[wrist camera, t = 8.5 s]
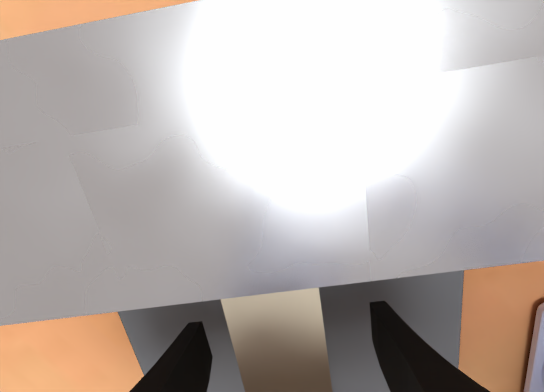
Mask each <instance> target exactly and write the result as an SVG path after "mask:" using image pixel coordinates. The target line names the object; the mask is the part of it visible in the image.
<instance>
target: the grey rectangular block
mask: <svg viewBox="0 0 544 392" xmlns="http://www.w3.org/2000/svg"><path fill="white" fill-rule="evenodd" d="M535 261H544V0H199V1H194V2H189V3H184V4H179V5H174V6H169V7H164V8H159V9H154V10H149V11H144V12H139V13H134V14H129V15H124V16H119V17H114V18H109V19H104V20H99V21H94V22H89V23H84V24H79V25H74V26H69V27H64V28H59V29H54V30H49V31H44V32H39V33H34V34H29V35H24V36H19V37H14V38H9V39H4V40H0V326H2V325H10V324H19V323H27V322H35V321H44V320H52V319H60V318H69V317H77V316H85V315H94V314H102V313H110V312H119V311H127V310H135V309H144V308H152V307H160V306H169V305H177V304H185V303H194V302H202V301H210V300H219V299H227V298H235V297H244V296H252V295H260V294H269V293H277V292H285V291H294V290H302V289H310V288H319V287H327V286H335V285H344V284H352V283H360V282H369V281H377V280H385V279H394V278H402V277H410V276H419V275H427V274H435V273H444V272H452V271H460V270H469V269H477V268H485V267H494V266H502V265H510V264H519V263H527V262H535Z"/></svg>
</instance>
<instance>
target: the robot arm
mask: <svg viewBox="0 0 544 392" xmlns="http://www.w3.org/2000/svg"><path fill="white" fill-rule="evenodd" d="M370 316H371V331H372V342H373V345H374V349H375V352H376V355H377V359H378V362H379V365H380V368H381V370H382V373H383V375H384V378H385V380H386V382H387V385H388V387H389V390H390V392H490V391H488V390H487V389H485V388H484V387H482V386H481V385H479V384H478V383H476V382H475V381H474V380H472V379H471V378H469V377H468V376H467V375H465V374H464V373H463V372H461V371H460V370H459V369H457V368H456V367H455V366H453V365H452V364H451V363H450V362H448V361H447V360H446V359H445V358H444V357H442V356H441V355H440V354H439V353H438V352H437V351H435V350H434V349H433V348H432V347H431V346H430V345H429V344H427V343H426V342H425V341H424V340H423V339H422V338H421V337H420V336H419V335H418V334H417V333H416V332H415V331H414V330H413V329H412V328H411V327H410V326H409V325H408V324H407V323H406V322H405V321H404V320H403V319H402V318H401V317H400V316H399V315H398V314H397V313H396V312H395V311H394V310H393V309H392V307H391V306H390V305H389V304H388V303H387V302H386V301H376V302H370ZM212 359H213V356H212V353H211V349H210V346H209V343H208V339H207V336H206V333H205V329H204V326H203V323H202V321H199V322H190V323H188V324H187V325H186V326H185V328H184V329H183V330H182V331H181V333H180V334H179V335H178V336H177V338H176V339H175V340H174V341H173V343H172V344H171V345H170V346H169V348H168V349H167V350H166V351H165V352H164V354H163V355H162V356H161V357H160V358H159V360H158V361H157V362H156V363H155V364H154V366H153V367H152V368H151V369H150V370H149V371H148V372H147V373H146V374H145V376H144V377H143V378H142V379H141V380H140V381H139V382H138V383H137V384H136V385H135V386H134V387H133V389H132V390H131V391H130V392H207V388H208V384H209V380H210V373H211V366H212ZM524 392H544V302H543V303H542V304H540V305H539V306H538V309H537V312H536V319H535V325H534V331H533V337H532V344H531V350H530V356H529V362H528V368H527V375H526V381H525V387H524Z"/></svg>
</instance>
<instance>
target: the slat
mask: <svg viewBox="0 0 544 392" xmlns="http://www.w3.org/2000/svg"><path fill="white" fill-rule="evenodd" d="M221 303H222V307H223V311H224V314H225V318H226V322H227V326H228V329H229V333H230V337H231V341H232V344H233V348H234V352H235V356H236V359H237V363H238V367H239V371H240V374H241V378H242V382H243V385H244V389H245V392H332V384H331V377H330V369H329V361H328V354H327V346H326V339H325V331H324V324H323V316H322V309H321V301H320V294H319V288H310V289H302V290H294V291H285V292H277V293H269V294H260V295H252V296H244V297H235V298H227V299H221Z"/></svg>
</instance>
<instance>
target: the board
mask: <svg viewBox="0 0 544 392" xmlns="http://www.w3.org/2000/svg"><path fill="white" fill-rule="evenodd" d="M463 278H464V270H460V271H452V272H444V273H435V274H427V275H419V276H410V277H402V278H394V279H385V280H377V281H369V282H360V283H352V284H344V285H335V286H327V287H319V294H320V301H321V309H322V316H323V324H324V331H325V339H326V346H327V354H328V361H329V369H330V377H331V384H332V392H390V390H389V387H388V385H387V382H386V380H385V378H384V375H383V373H382V370H381V368H380V365H379V362H378V359H377V355H376V352H375V349H374V345H373V342H372V331H371V316H370V302H376V301H386V302H387V303H388V304H389V305H390V306H391V307H392V309H393V310H394V311H395V312H396V313H397V314H398V315H399V316H400V317H401V318H402V319H403V320H404V321H405V322H406V323H407V324H408V325H409V326H410V327H411V328H412V329H413V330H414V331H415V332H416V333H417V334H418V335H419V336H420V337H421V338H422V339H423V340H424V341H425V342H426V343H427V344H429V345H430V346H431V347H432V348H433V349H434V350H435V351H437V352H438V353H439V354H440V355H441V356H442V357H444V358H445V359H446V360H447V361H448V362H450V363H451V364H452V365H453V366H455V367H456V368H457V369H458V365H459V347H460V330H461V313H462V295H463ZM118 314H119V316H120V318H121V321H122V323H123V326H124V328H125V330H126V333H127V335H128V338H129V340H130V343H131V345H132V347H133V350H134V352H135V355H136V357H137V360H138V362H139V364H140V367H141V369H142V372H143V374H144V376H145V374H146V373H147V372H148V371H149V370H150V369H151V368H152V367H153V366H154V364H155V363H156V362H157V361H158V360H159V358H160V357H161V356H162V355H163V354H164V352H165V351H166V350H167V349H168V348H169V346H170V345H171V344H172V343H173V341H174V340H175V339H176V338H177V336H178V335H179V334H180V333H181V331H182V330H183V329H184V328H185V326H186V325H187V324H188V323H190V322H199V321H202V323H203V326H204V329H205V333H206V336H207V339H208V343H209V346H210V349H211V353H212V356H213V359H212V366H211V373H210V380H209V384H208V388H207V392H245V389H244V385H243V382H242V378H241V374H240V371H239V367H238V363H237V359H236V356H235V352H234V348H233V344H232V341H231V337H230V333H229V329H228V326H227V322H226V318H225V314H224V311H223V307H222V303H221V299H219V300H210V301H202V302H194V303H185V304H177V305H169V306H160V307H152V308H144V309H135V310H127V311H119V312H118Z"/></svg>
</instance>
